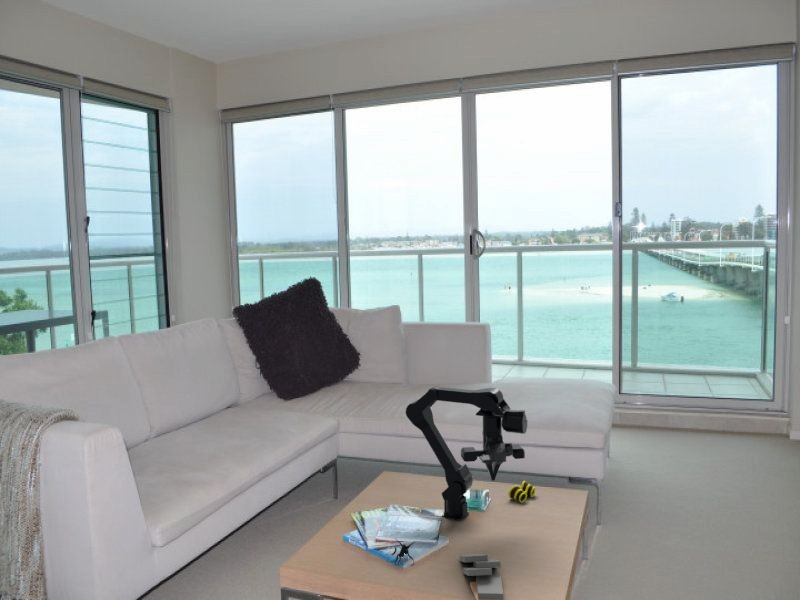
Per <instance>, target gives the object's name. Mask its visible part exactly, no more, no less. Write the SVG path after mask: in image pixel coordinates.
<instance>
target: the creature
mask: <svg viewBox="0 0 800 600" xmlns="http://www.w3.org/2000/svg"><path fill="white" fill-rule="evenodd" d="M394 539H395V541H396V542H397V543H398V544H400V549H399V550H400V551H399V553H397V547H396V546H395V547H394V551H393V553H391V554H390V555H392V556H394V555H395V554H396V553H397V555H396V557H395V559H396V560H395V559H394V562H395V564H394V566H396V564H397V565H399V563H400V562H401V561H402V557H403V558H404V557H405V556H404V553H405V554H406V555H407V557H408V556H409V559H411V560H412V561H413V563H412V564H411V566H410V567H412V566H413V565H414V564H415V560H414V558H413V557H412V556H411V555H410V554H409V553H410V552H409V549H410V548H411V546H412V545H413V544H415V543H416V542H417V540H414V541H413V542H411V543H410V544H409V545H406V544H402V543H401V542H400V541H399V540H398V539H397V538H394ZM398 556H399V558H398ZM398 559H399V560H398ZM386 562H387V563H389V561H388V560H386Z"/></svg>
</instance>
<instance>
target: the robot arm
mask: <svg viewBox="0 0 800 600" xmlns="http://www.w3.org/2000/svg"><path fill="white" fill-rule="evenodd" d="M437 401H439V402H449V403H458V404H467V405H468V404H469V405H473V406H475V407H477V408H478V411H477V412H476V413H475V416H476V417H477V416H478V417H482V431H481V432H482V434H481V435H482V449H477V450H476V449H475V448H474V446H468V447H467V446H466V447H462V448H461V449H460V457H461V459H462V460H463V461H464V462H466V463H467V462H468V463H469V462H475V461H477V460H478V458H479V460H480V461H481V462H482V463H483V464H484V465H485V466H486V470H487V472H488V475H489V477H490V480H491V481H492V482H495V480H496V476H497V475H498V471H499V470H500V467H501V465H502V464H503V463H506V462H507V457H513V458H514V459H515V460H516V459H517V460H518V459H519V460H520V459H525V458H526V457H525V454H526V451H525V449H524V448H523V447H522V446H521V445H520V444H517V443H516V444H512V443H504V441H503V433H502V432H503V431H504V432H505V433H511V434H521V435H522V434H524V435H525V434H526V433H527V429H528V419H527V415H526V410H523V409H520V410H514V409H511V407H510V405H509V404H508V403H507V402H506V400H505V399H504V394H503V393H502V391H501V390H500V389H499V388H496V387H487V388H482V389H481V388H480V389H465V388H453V387H445V386H444V387H443V386H438V385H435V386H432V387H431V388H429V389H428V390H427V392H426V393H424V394H423V395H422V396H421V397H420V398H419V399H417V400H414V401H413V402H411V403H409V404H408V405H407V406H406V407H405V415H406V417H407V419H408V420H409V421H410V423H411V424H412V425H413V426H414V427H416V428H417V429H418V430H420V431H421V432H422V433H421V434H423V436H424V438H425V440H426V441H427V443H428V445H429V446H430V448H431V450H432V452H433V453H434V455H435V457H436V459H437V460H438V462H439V463H440V465H441V467H442V469H443V471H444V476H445V481H446V484H447V487H446V489H444V490H443V491H442V492H441V497H442V500H443V503H444V508H443V509H444V512H443V513H444V516H443V517H444V518H448V519H451V520H453V521H454V520H455V521H460V520H461V519H463V518H465V517H467V516H468V515H470V512H469V511H468V502H467V496H466V495H465V494H466V493H467V491H469V489H470V488H471V487H472V485H473V481H474V480H473V477H472V476H473V473H471V471H470V470H469V468H468V465H467V464H466V463H465V464H463V465H461V464H460V463H459V462H458V461H457V460H456V458H455V457H454V454H453V453H452V452H451V450H450V448H449V446H448V444H447V443H446V441H445V440H444V438H443V436H442V434H441V433H440V431H439V429H438V428H437V426H436V424H435V422H434V421H435V420H434V415H433V412H432V409H431V407H432V406H434V405H435V403H436V402H437ZM502 430H503V431H502Z"/></svg>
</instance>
